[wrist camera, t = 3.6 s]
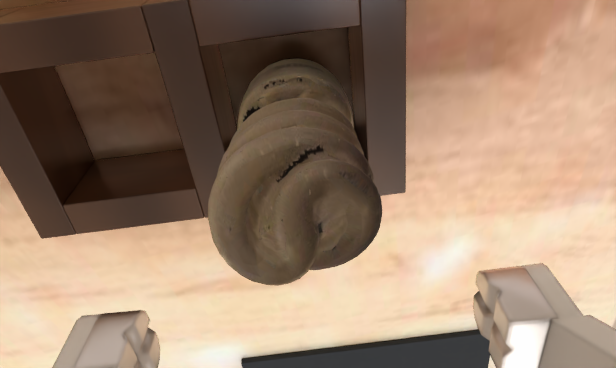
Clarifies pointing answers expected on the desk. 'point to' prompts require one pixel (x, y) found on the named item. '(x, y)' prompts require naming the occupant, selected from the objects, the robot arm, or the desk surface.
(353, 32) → the stand
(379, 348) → the mat
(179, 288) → the desk surface
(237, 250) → the light bulb
